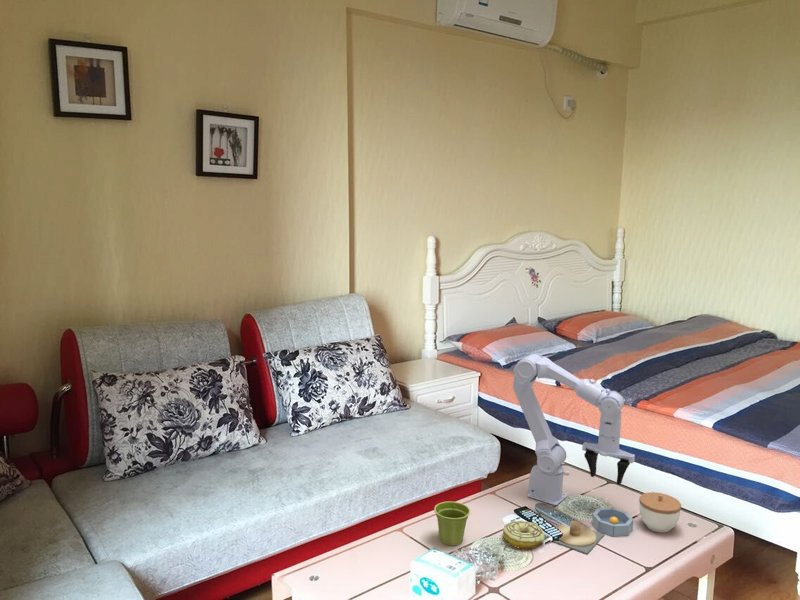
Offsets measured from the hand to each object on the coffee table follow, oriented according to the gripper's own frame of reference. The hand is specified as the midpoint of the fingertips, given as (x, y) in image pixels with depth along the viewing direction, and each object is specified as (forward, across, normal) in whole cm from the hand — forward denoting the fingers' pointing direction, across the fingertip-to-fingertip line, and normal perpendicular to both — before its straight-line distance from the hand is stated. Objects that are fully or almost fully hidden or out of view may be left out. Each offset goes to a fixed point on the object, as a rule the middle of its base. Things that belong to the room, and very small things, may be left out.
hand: (606, 479), depth 188 cm
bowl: (+10, +5, -7) cm, 13 cm away
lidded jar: (+10, +15, +1) cm, 18 cm away
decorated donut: (+10, -11, -29) cm, 33 cm away
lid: (+10, -1, -19) cm, 21 cm away
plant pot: (+10, -26, -41) cm, 50 cm away
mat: (+10, -1, -19) cm, 21 cm away
